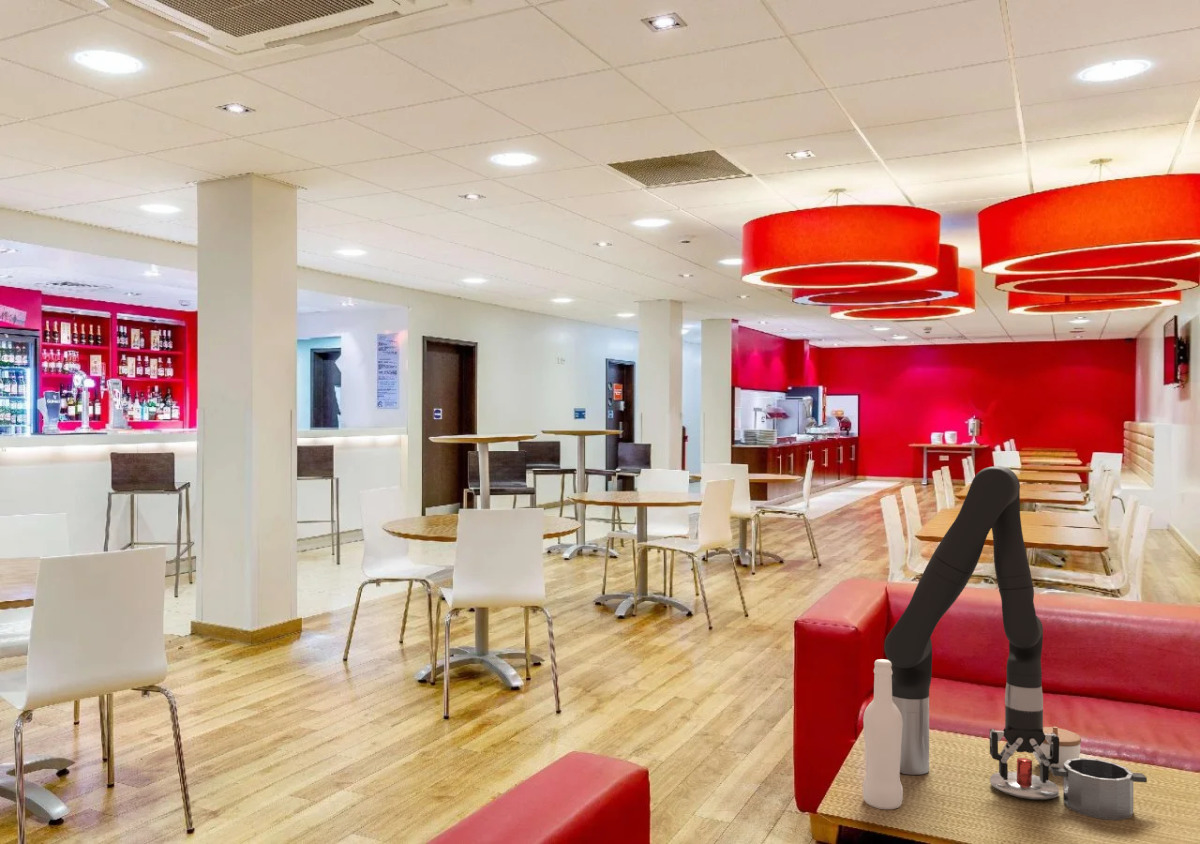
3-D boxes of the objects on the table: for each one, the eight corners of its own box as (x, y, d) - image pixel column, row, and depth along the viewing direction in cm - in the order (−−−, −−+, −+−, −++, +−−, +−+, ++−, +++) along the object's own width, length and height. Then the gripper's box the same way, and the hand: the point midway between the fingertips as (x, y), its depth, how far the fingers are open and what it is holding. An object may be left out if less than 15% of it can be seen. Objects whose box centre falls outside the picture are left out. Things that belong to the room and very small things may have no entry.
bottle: (882, 813, 188) (882, 667, 188) (854, 799, 195) (854, 658, 195) (911, 806, 191) (911, 662, 192) (882, 792, 199) (883, 654, 199)
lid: (997, 800, 195) (997, 767, 195) (984, 776, 208) (985, 746, 208) (1066, 807, 192) (1067, 774, 192) (1049, 783, 205) (1049, 752, 205)
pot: (1060, 815, 187) (1060, 776, 187) (1043, 792, 199) (1043, 755, 199) (1156, 823, 184) (1156, 783, 184) (1133, 799, 196) (1133, 761, 196)
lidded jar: (1069, 760, 219) (1069, 720, 219) (1089, 776, 209) (1089, 735, 209) (1023, 758, 220) (1023, 719, 220) (1040, 774, 210) (1040, 733, 210)
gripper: (992, 707, 198) (992, 784, 198) (1064, 711, 195) (1064, 789, 195) (985, 697, 205) (985, 771, 205) (1054, 701, 202) (1054, 776, 202)
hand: (1023, 780), depth 200 cm, fingers open, 7 cm apart
